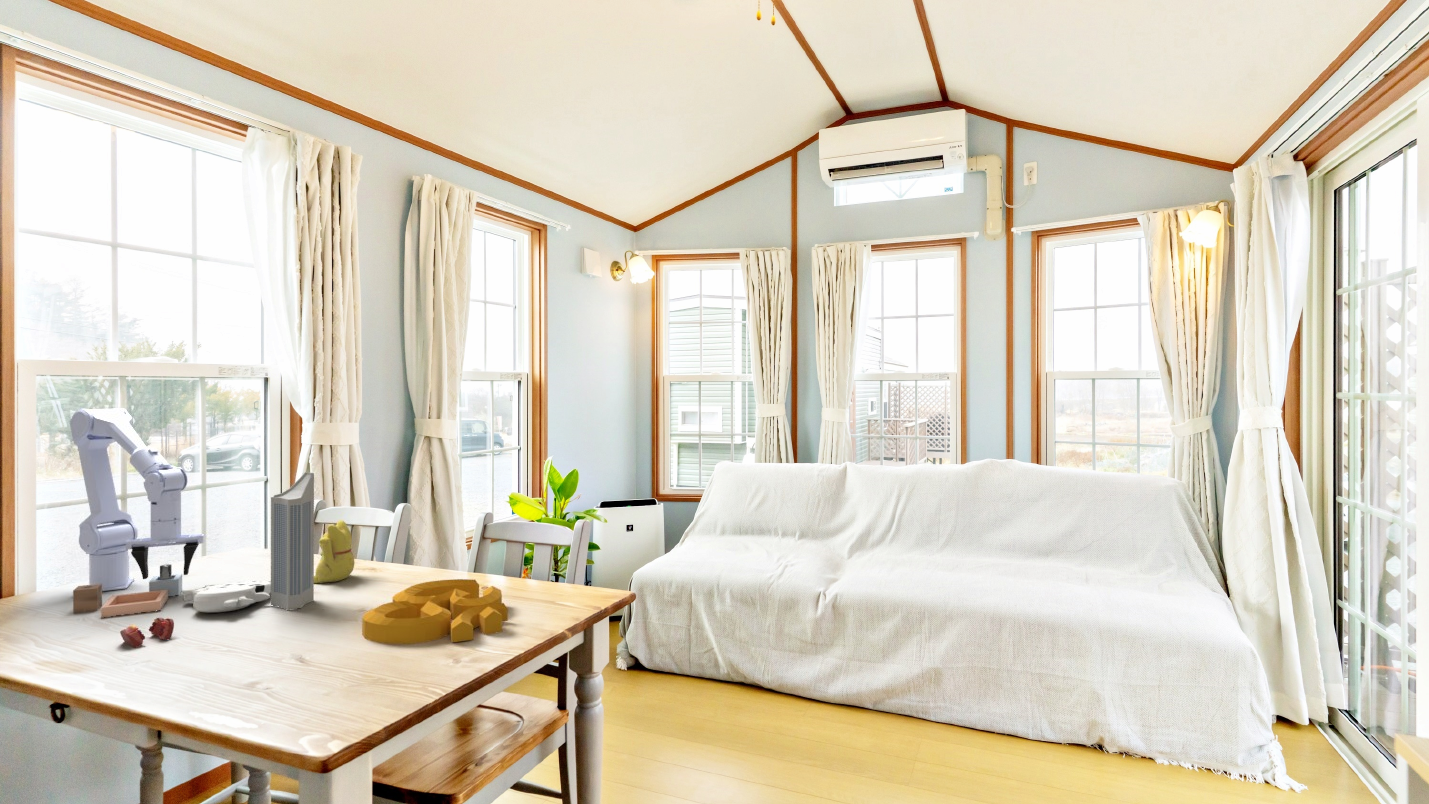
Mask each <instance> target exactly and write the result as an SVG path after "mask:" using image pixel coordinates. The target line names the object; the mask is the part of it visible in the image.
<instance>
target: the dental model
mask: <svg viewBox="0 0 1429 804" xmlns="http://www.w3.org/2000/svg"><path fill="white" fill-rule="evenodd" d="M174 628H175V621H174V619H172V618H168V617H167V618H164V617H156V618H155V619H154V620H153V622H152V623H151V626H149V628H148V631H149V632H150V633H151V635H153V636H158V637H159V639H160V640H163V641H164V640H166V641H168V640H167V639H169V640H171V638H172V637H173V636H172V635H173V632H174ZM119 634H120V636H121V638H122V640H123V641H124V643H126V644H128V645H130V646H131V647H133V648H135V649H136V648H139V647H141V646H142V645H143V643H144V640H145V639H146V635H144V633H142V631H141V630H140V629H139V627H137V626H136V625H135V624H132V625H129V626H128V627H126V628H124V629H122V630H119Z"/></svg>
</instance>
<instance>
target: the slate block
mask: <svg viewBox="0 0 1429 804" xmlns="http://www.w3.org/2000/svg"><path fill="white" fill-rule="evenodd" d="M159 590H168V596H173V597H176V596H175V595H179V596H180V595H181V593H182V592H183V573H177V574H176V573H174V574H172V579H165V580H160V575H155V576H152V578H151V579H150V580H149V582H148V592H149V591H159Z"/></svg>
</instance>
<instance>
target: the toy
mask: <svg viewBox="0 0 1429 804" xmlns="http://www.w3.org/2000/svg"><path fill="white" fill-rule="evenodd" d="M182 595H183V601H184V602H191V601H193V603H192V604H193V605H192V606H193V609H194V610H195V611H197V612H201V613H224V612H231V611H236V610H241V609H244V608H247V607H249V606H252V605H253V604H254V603H256V602H257V603H258V602H259V603H260V602H263V601H266V600H268V599H271V580H270V581H268V580H265V581H263V580H255V581H253V580H252V581H239V582H238V581H237V582H229V583H220V584H206V585H204V587H198V588H191V589H182Z"/></svg>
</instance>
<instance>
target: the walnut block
mask: <svg viewBox="0 0 1429 804" xmlns="http://www.w3.org/2000/svg"><path fill="white" fill-rule="evenodd" d="M72 593H73V594H72V599H73V600H72V603H73V604H72V608H73V609H72V610H73V614H77V613H86V612H94V611H95V612H96V611H99V609H101V607H102V606H103V591H102V584H93V585H89V584H84V585H83V584H82V585H78V586H77V587H76V588H74V589H73V592H72Z"/></svg>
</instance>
